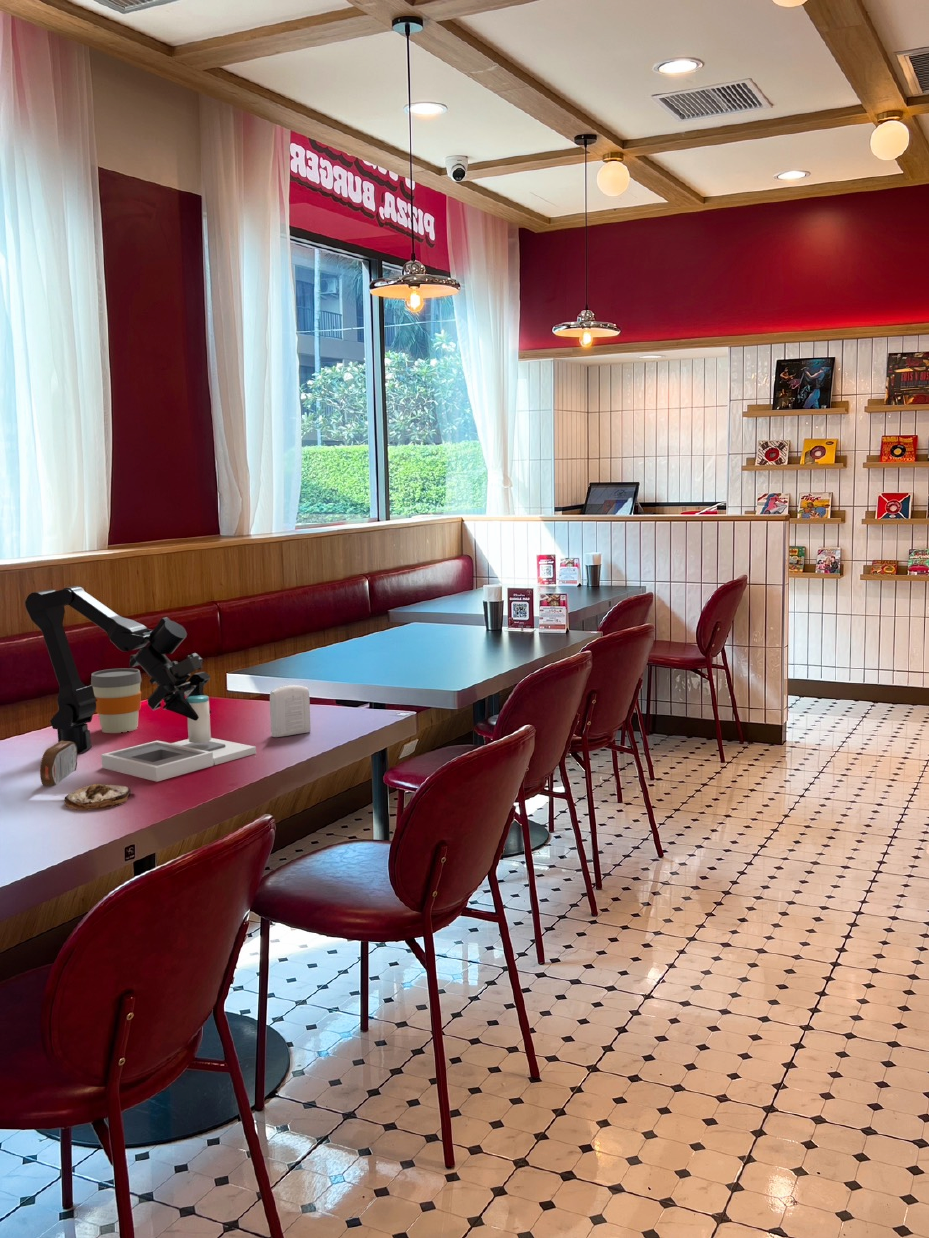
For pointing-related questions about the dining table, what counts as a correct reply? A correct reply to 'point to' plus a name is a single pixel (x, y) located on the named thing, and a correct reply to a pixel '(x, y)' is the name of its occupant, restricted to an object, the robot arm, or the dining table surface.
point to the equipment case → (173, 757)
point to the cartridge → (199, 719)
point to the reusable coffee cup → (117, 698)
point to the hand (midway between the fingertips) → (203, 716)
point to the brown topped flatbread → (97, 797)
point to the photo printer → (290, 710)
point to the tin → (58, 762)
